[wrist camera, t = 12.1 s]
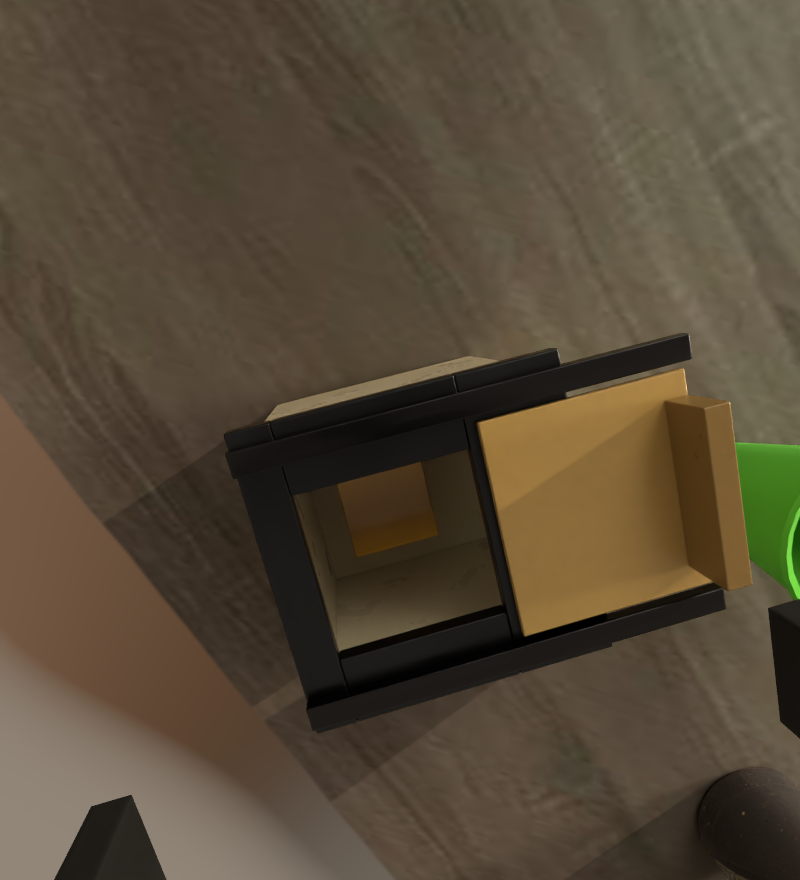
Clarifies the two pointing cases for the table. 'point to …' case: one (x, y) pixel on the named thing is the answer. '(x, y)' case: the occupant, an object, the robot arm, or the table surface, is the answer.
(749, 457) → the cup
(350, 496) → the block
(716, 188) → the table surface
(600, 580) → the shutter
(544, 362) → the sliding lid box
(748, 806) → the container
